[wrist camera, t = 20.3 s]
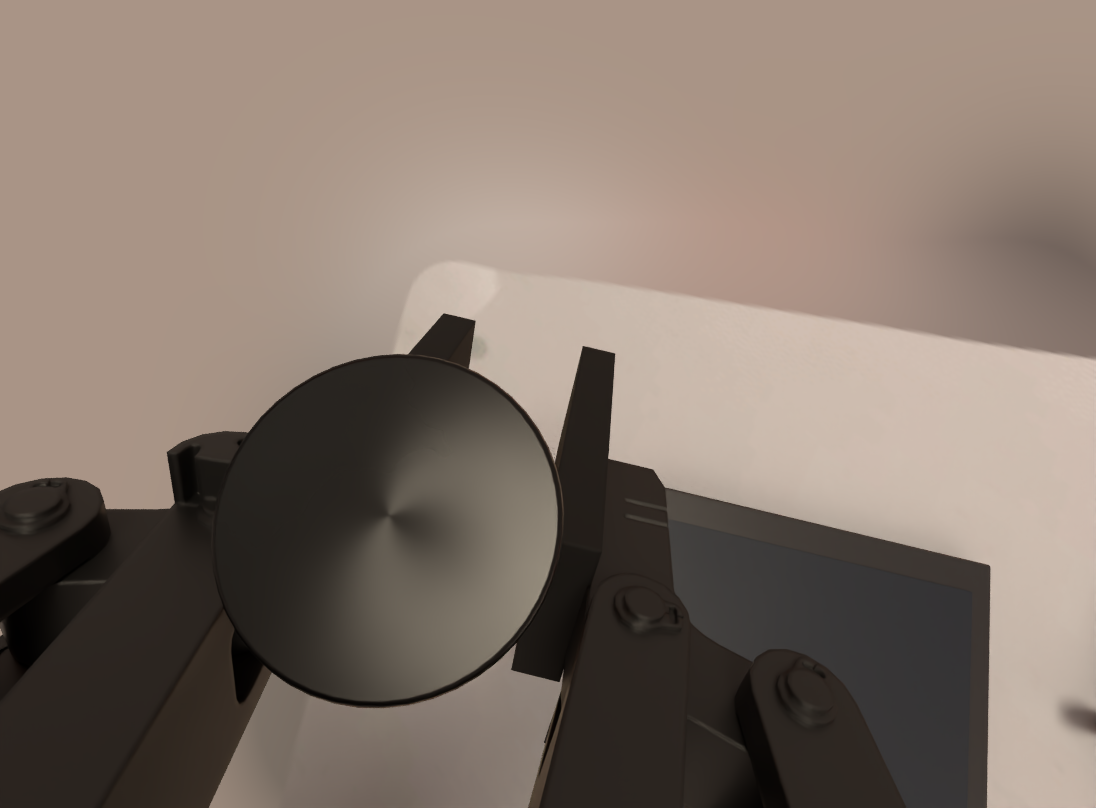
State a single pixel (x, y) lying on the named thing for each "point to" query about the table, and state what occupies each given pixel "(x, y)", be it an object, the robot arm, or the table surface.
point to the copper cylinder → (387, 531)
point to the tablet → (853, 630)
